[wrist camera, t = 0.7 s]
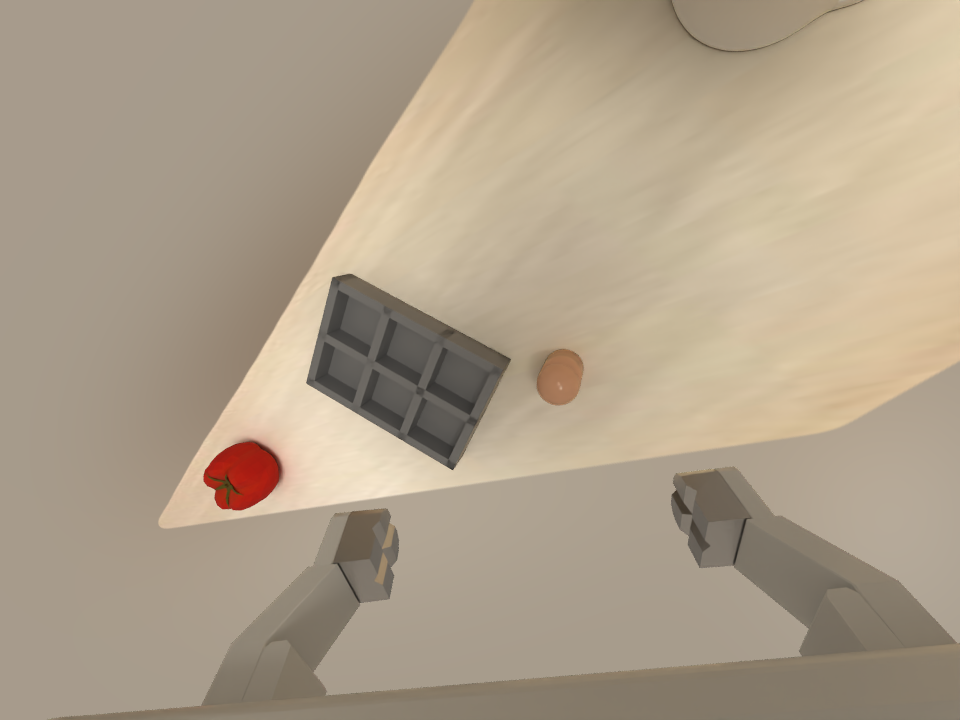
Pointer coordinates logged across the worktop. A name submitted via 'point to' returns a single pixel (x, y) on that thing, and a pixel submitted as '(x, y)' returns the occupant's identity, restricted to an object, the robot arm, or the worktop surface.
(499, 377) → the egg carton
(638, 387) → the worktop surface
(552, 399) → the terracotta egg
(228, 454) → the tomato
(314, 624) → the robot arm
